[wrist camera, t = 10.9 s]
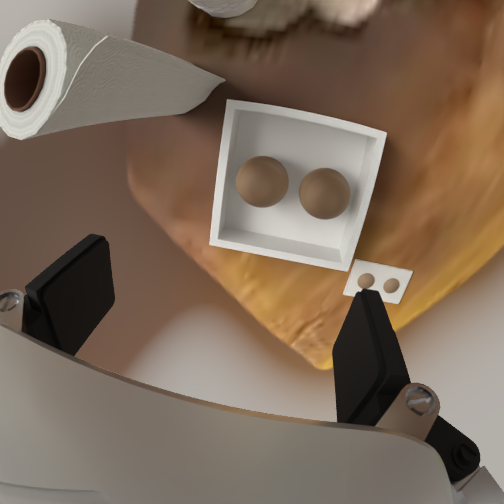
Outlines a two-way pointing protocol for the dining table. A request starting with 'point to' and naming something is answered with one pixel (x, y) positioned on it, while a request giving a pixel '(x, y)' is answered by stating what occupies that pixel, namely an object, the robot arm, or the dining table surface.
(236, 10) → the white cup
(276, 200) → the walnut ball
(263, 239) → the bin
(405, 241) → the dining table surface
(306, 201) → the ball
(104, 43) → the paper towel roll
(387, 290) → the card
